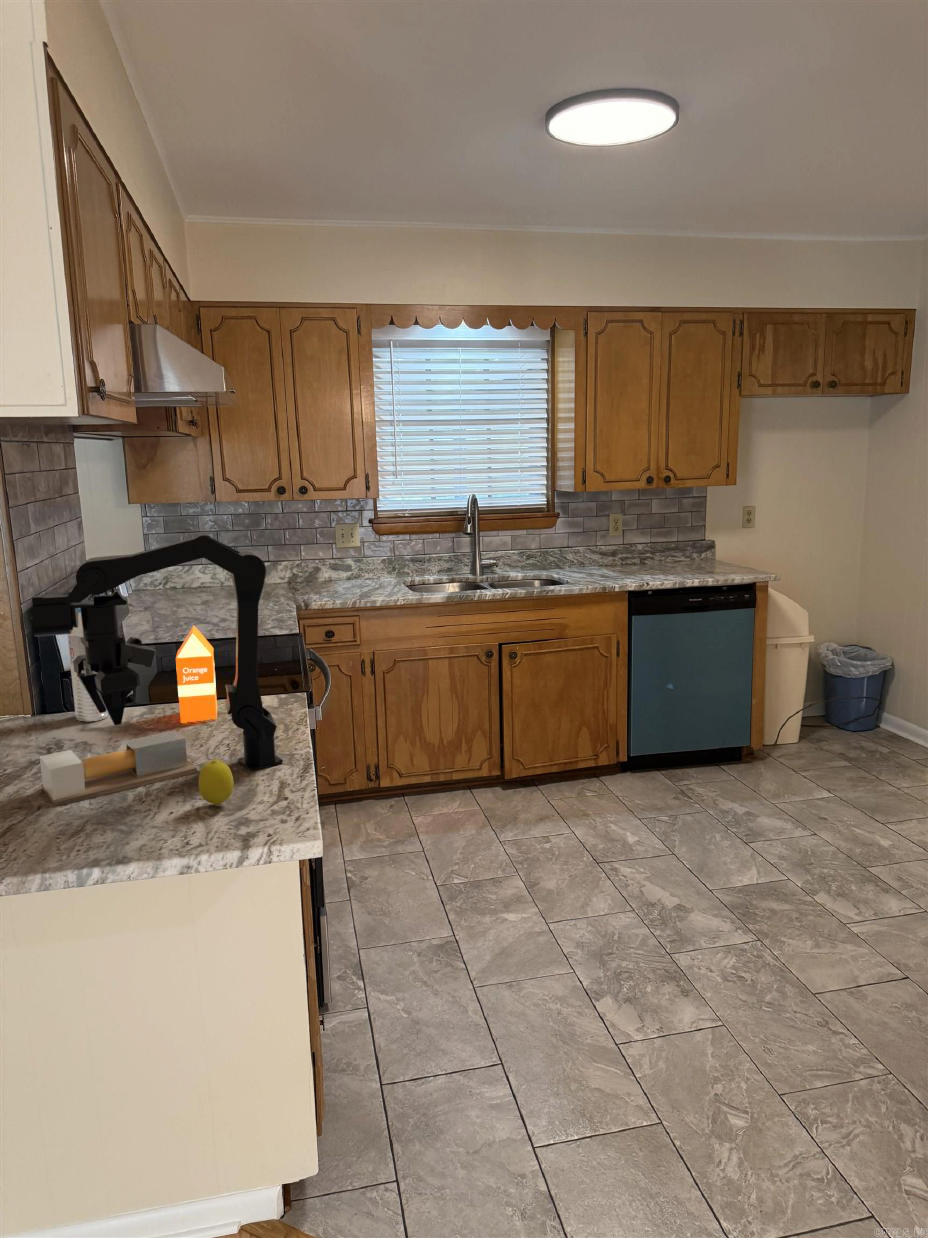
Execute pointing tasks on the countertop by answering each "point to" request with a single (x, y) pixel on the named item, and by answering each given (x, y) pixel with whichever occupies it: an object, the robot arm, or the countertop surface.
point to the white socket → (62, 774)
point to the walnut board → (120, 783)
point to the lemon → (215, 782)
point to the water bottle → (82, 700)
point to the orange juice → (196, 679)
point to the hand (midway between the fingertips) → (110, 718)
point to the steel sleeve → (158, 753)
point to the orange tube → (108, 763)
